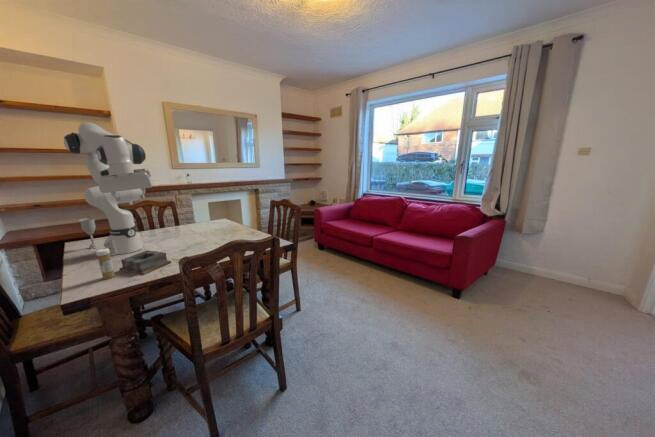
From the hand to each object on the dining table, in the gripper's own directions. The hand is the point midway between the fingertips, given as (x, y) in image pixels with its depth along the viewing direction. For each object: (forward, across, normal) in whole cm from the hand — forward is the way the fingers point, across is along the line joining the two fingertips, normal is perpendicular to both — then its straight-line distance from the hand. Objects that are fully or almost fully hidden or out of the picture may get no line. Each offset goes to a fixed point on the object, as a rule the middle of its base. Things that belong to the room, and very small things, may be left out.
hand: (131, 199), depth 120 cm
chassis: (+34, +1, +1) cm, 34 cm away
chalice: (+28, +38, -47) cm, 67 cm away
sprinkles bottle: (+34, +14, +8) cm, 37 cm away
